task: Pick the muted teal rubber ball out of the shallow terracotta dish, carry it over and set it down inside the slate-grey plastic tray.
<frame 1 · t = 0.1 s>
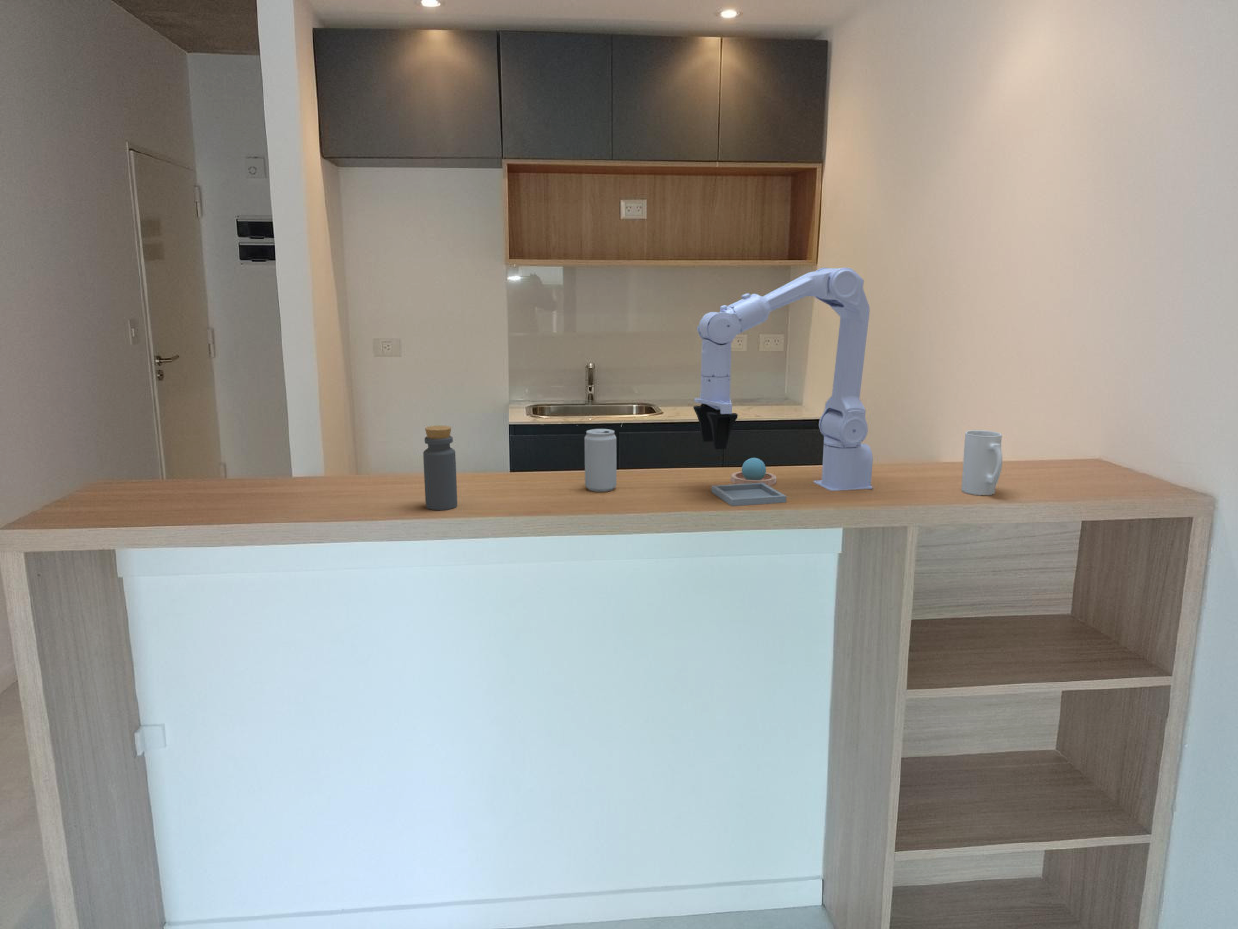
hand: (714, 444, 169), 10 cm above the countertop, fingers open, 7 cm apart
beverage can: (600, 489, 176), on the countertop
mug: (982, 494, 172), on the countertop
bottle: (441, 507, 162), on the countertop
tray: (747, 498, 168), on the countertop
dish: (753, 483, 181), on the countertop
ball: (753, 481, 180), resting on dish
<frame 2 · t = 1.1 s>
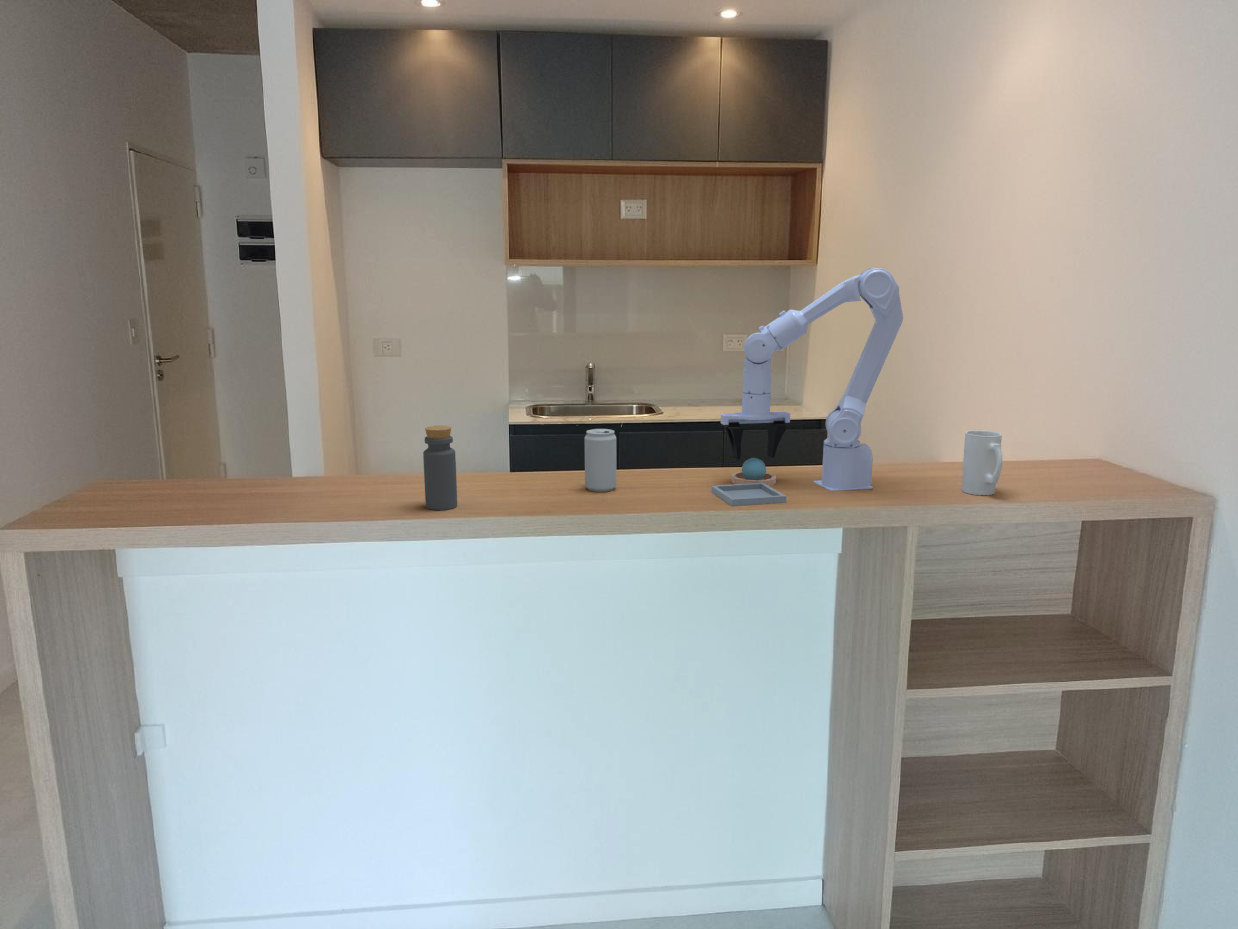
hand: (753, 457, 179), 5 cm above the countertop, fingers open, 7 cm apart
nothing on the countertop moved.
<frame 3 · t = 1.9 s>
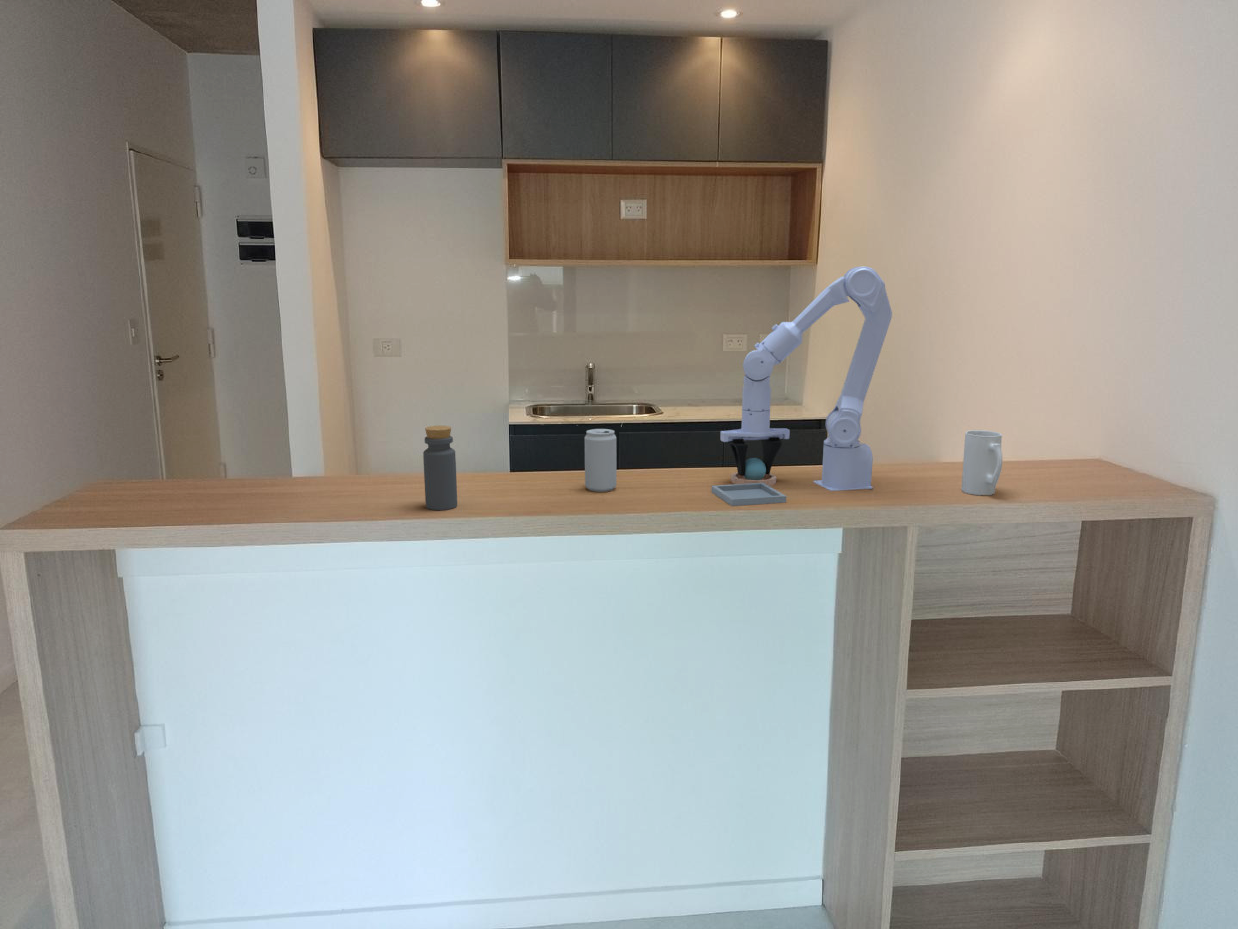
hand: (753, 474, 180), 2 cm above the countertop, fingers closed on ball, 5 cm apart
ball: (753, 481, 180), resting on dish, touching gripper
everything else where it was.
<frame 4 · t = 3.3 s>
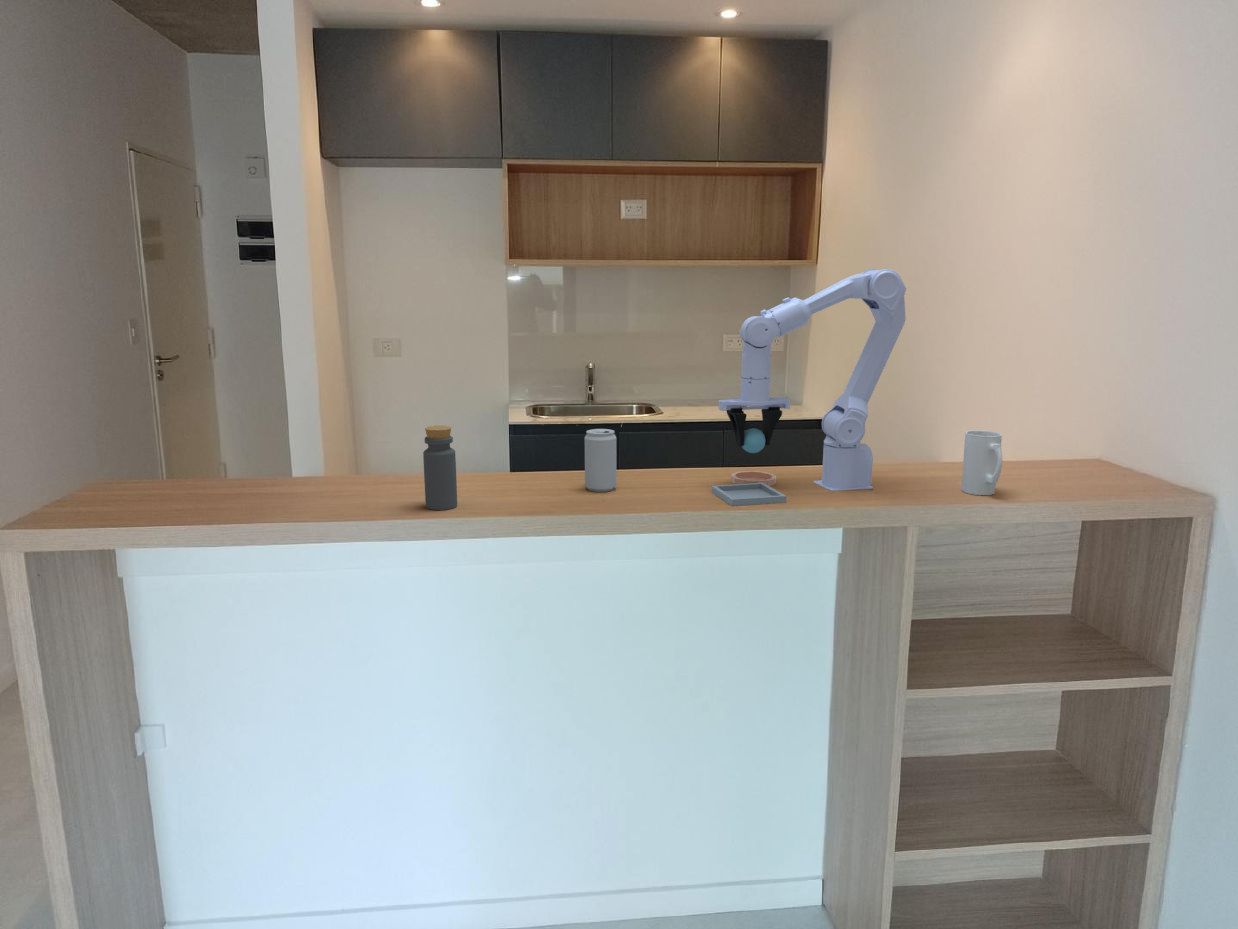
hand: (753, 444, 175), 9 cm above the countertop, fingers closed on ball, 5 cm apart
ball: (752, 452, 175), point 7 cm above the countertop, touching gripper
everything else where it was.
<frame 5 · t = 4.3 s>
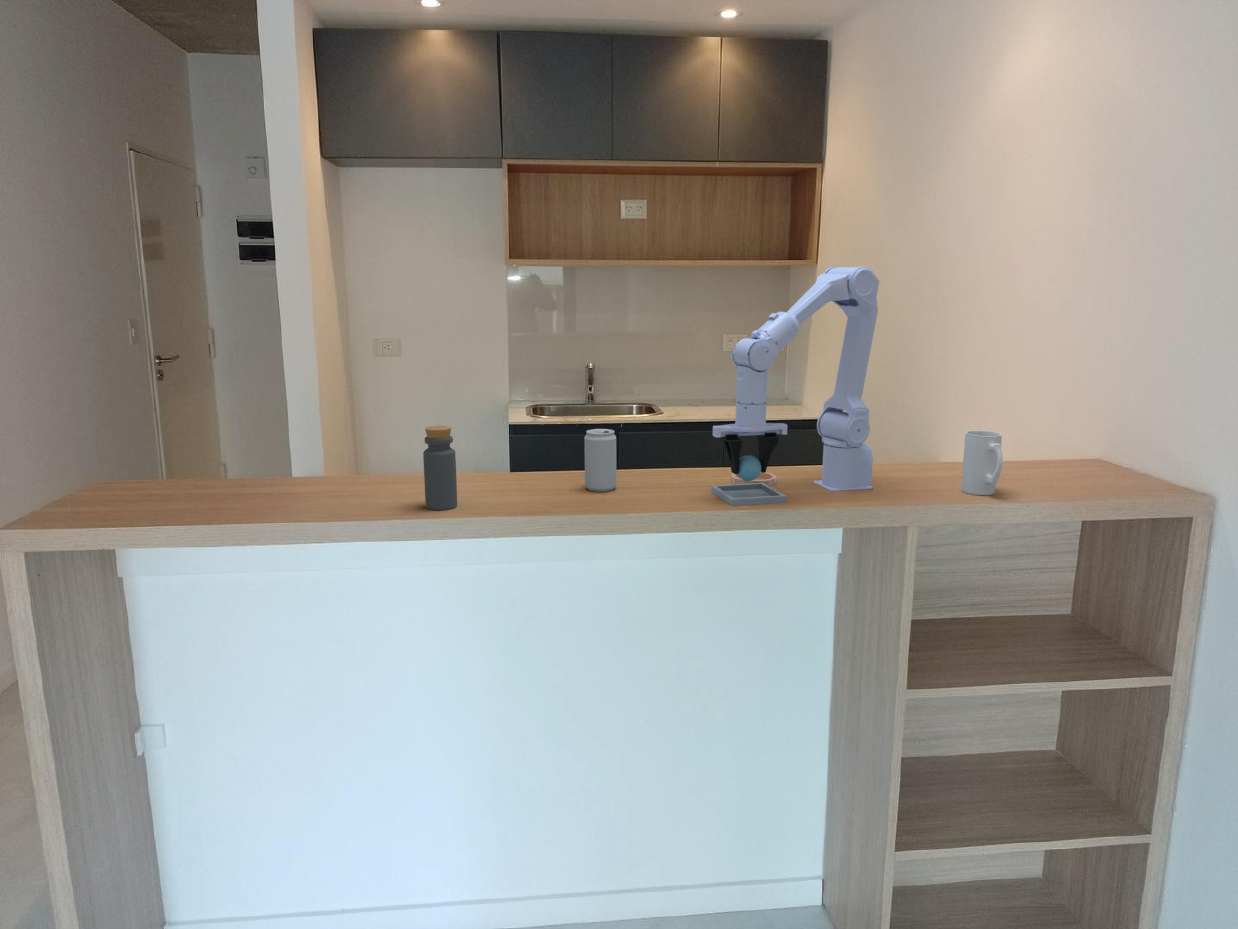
hand: (748, 472, 167), 5 cm above the countertop, fingers closed on ball, 5 cm apart
ball: (747, 480, 168), point 4 cm above the countertop, touching gripper
everything else where it was.
when the fingers open (4 cm above the countertop, at t = 5.0 s): ball drops 1 cm, resting on tray.
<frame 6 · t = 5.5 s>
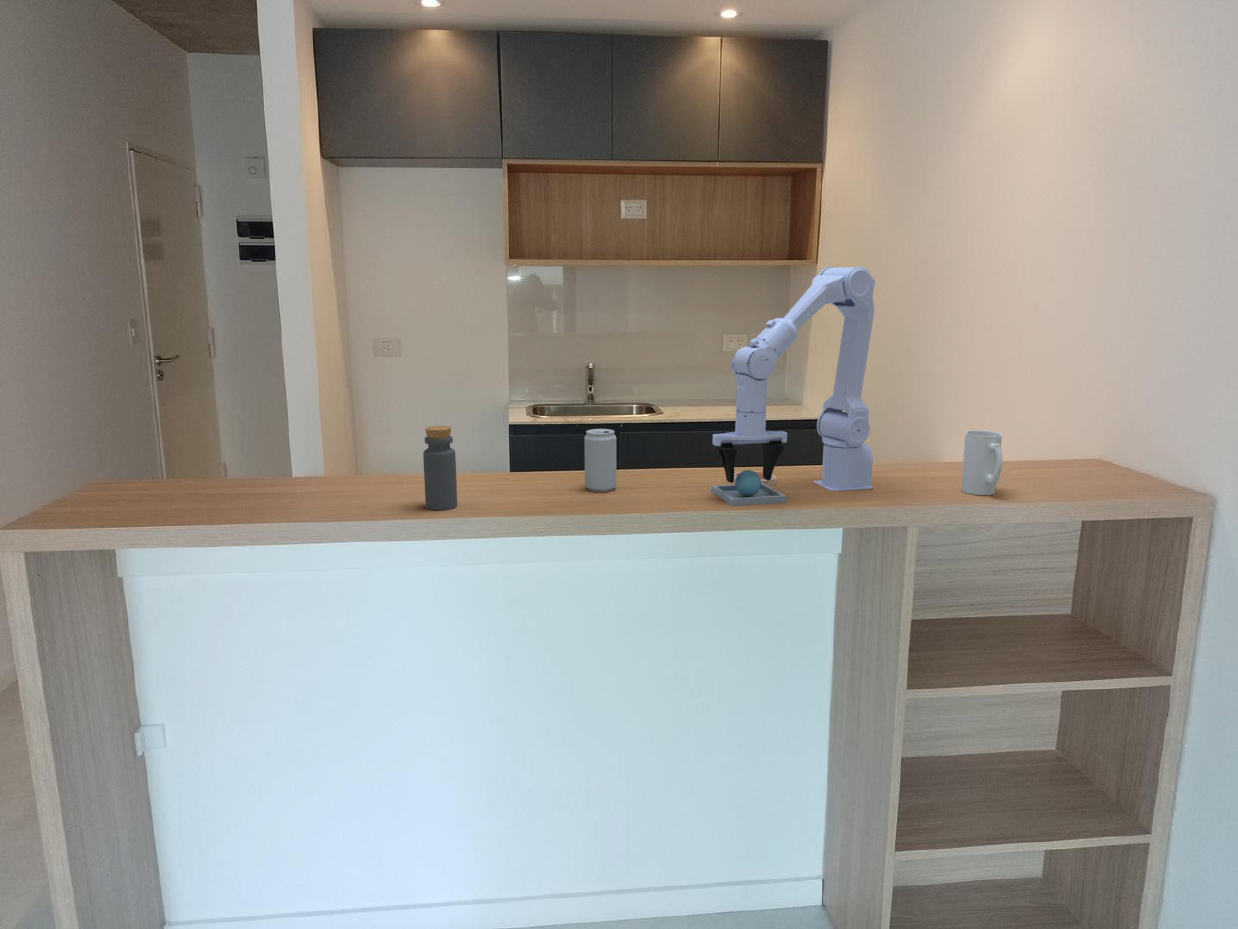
hand: (748, 480, 167), 4 cm above the countertop, fingers open, 7 cm apart
ball: (747, 495, 168), point 1 cm above the countertop, touching tray
everything else where it was.
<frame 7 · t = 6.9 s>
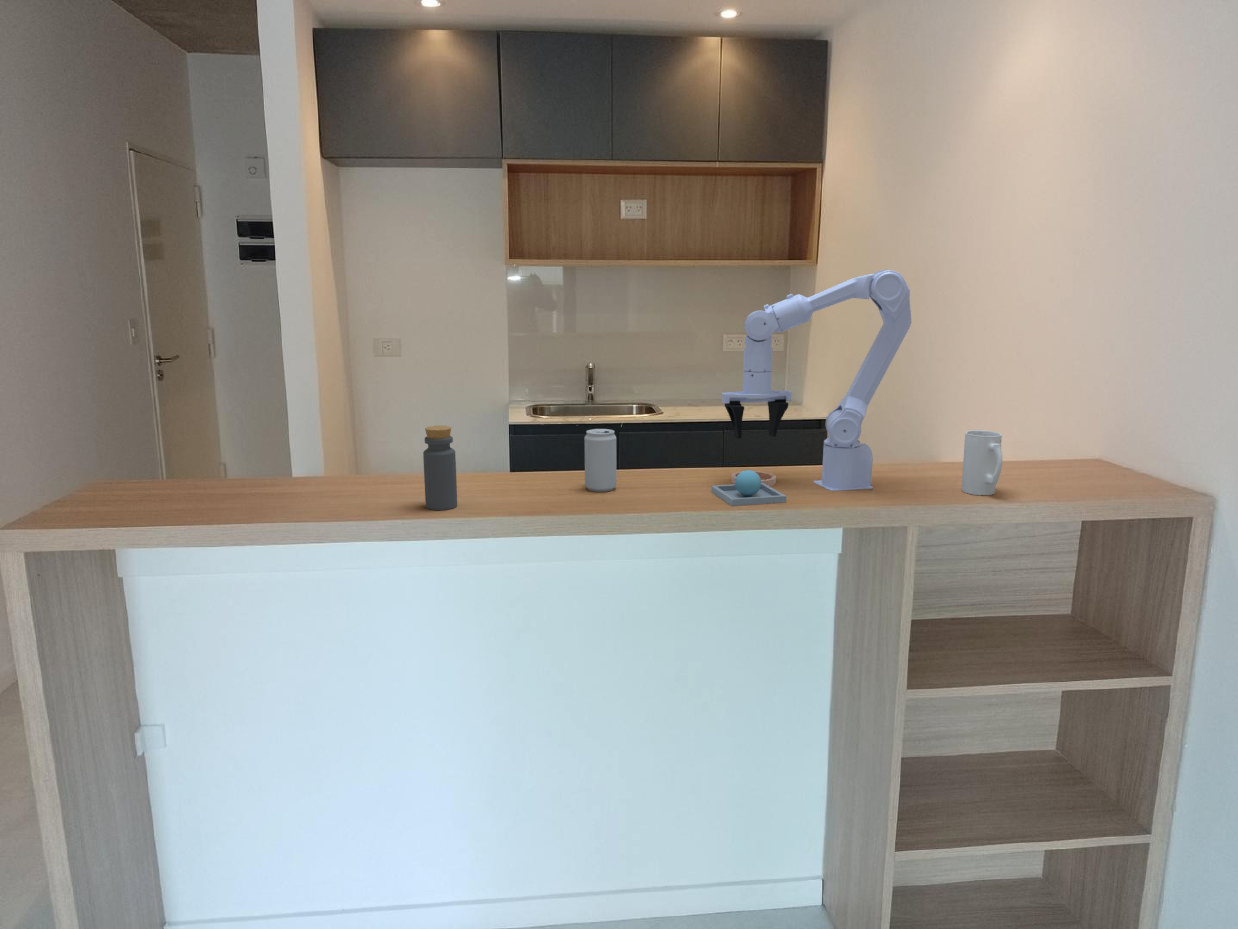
hand: (755, 436, 178), 10 cm above the countertop, fingers open, 7 cm apart
nothing on the countertop moved.
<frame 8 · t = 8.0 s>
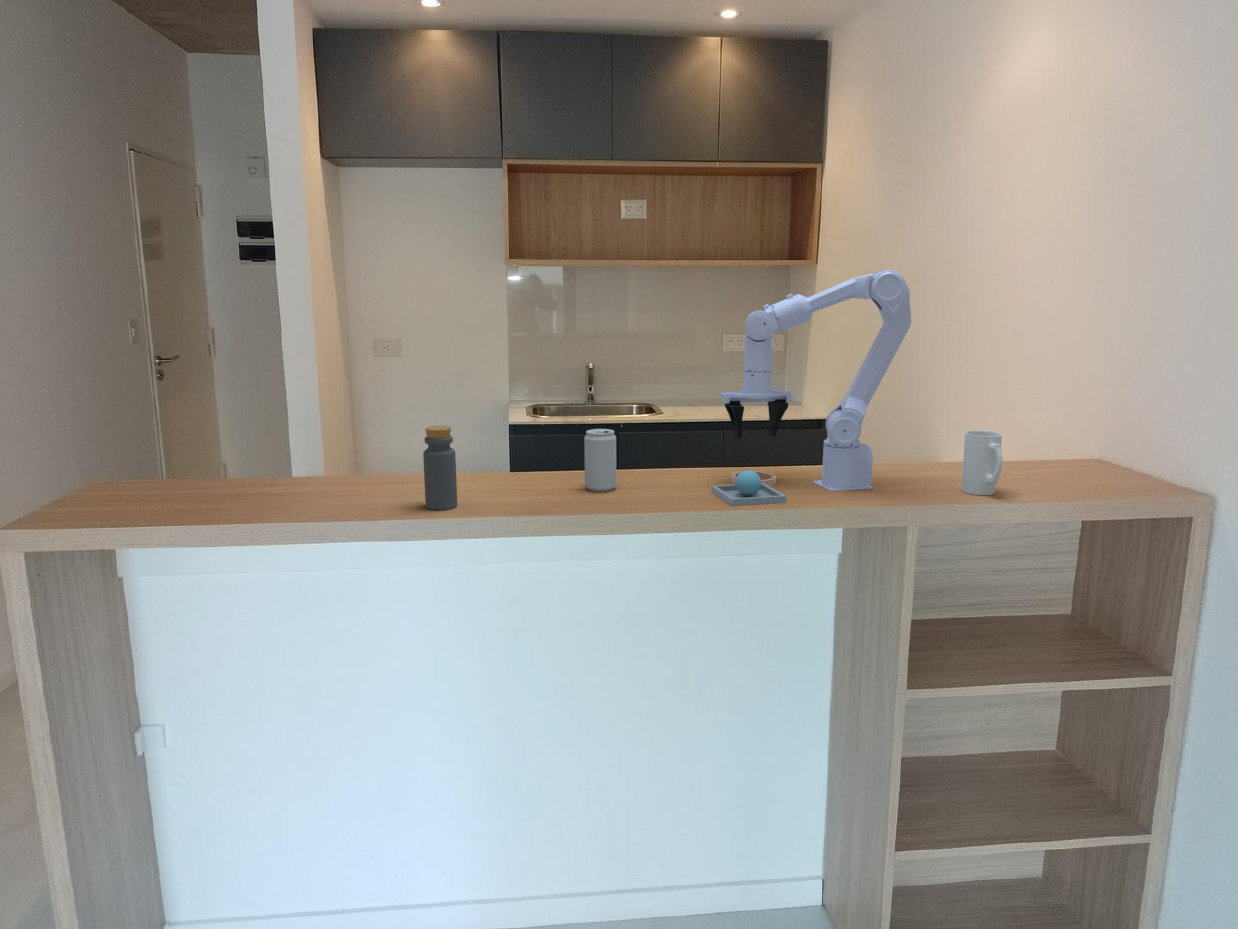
hand: (755, 436, 178), 10 cm above the countertop, fingers open, 7 cm apart
nothing on the countertop moved.
at the end: ball inside the target area on the tray (0.2 cm from its centre), point 0.6 cm above the tray's base; ball point 0.6 cm above the countertop; the gripper is holding nothing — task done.
